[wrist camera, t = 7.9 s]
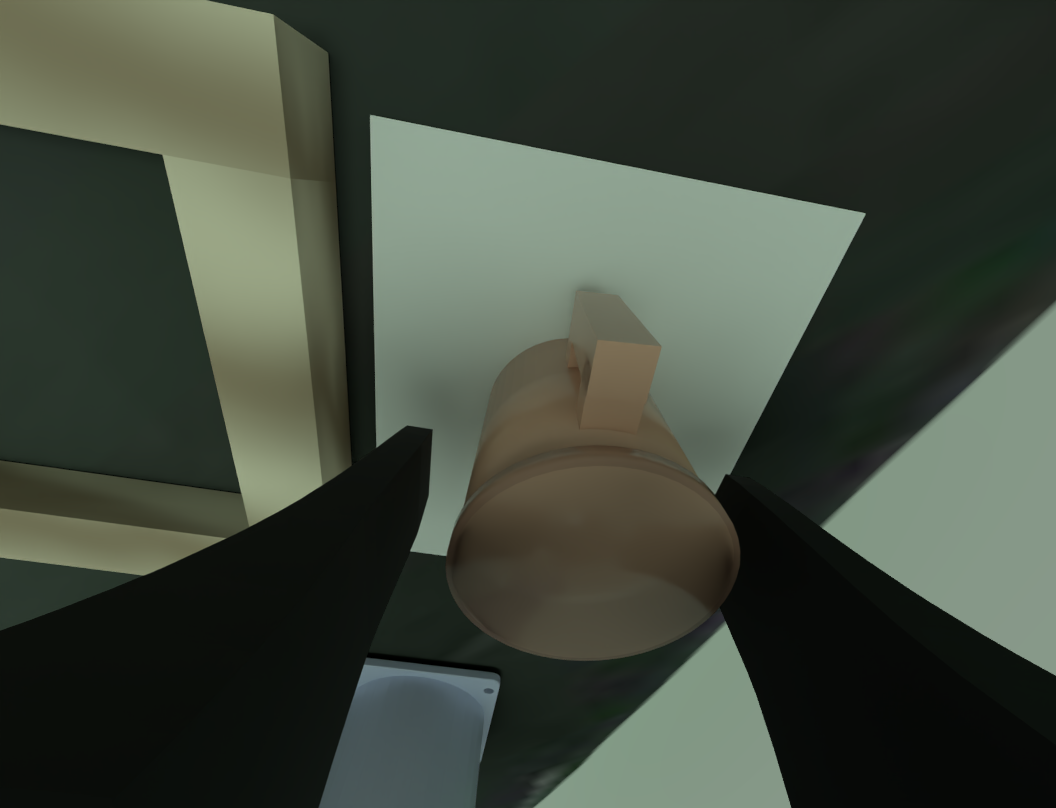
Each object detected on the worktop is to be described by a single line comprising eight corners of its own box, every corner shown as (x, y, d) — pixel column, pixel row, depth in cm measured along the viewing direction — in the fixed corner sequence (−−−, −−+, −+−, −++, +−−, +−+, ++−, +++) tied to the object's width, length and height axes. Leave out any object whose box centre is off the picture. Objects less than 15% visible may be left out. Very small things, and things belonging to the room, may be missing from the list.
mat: (669, 579, 16) (671, 586, 16) (381, 540, 16) (378, 547, 15) (857, 212, 10) (865, 213, 9) (374, 117, 9) (370, 114, 9)
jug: (480, 471, 13) (444, 650, 8) (492, 270, 10) (446, 347, 5) (629, 485, 14) (688, 669, 8) (685, 291, 10) (839, 388, 5)
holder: (356, 554, 16) (334, 599, 14) (-62, 499, 15) (-142, 539, 13) (328, 52, 8) (273, 14, 7) (-506, -120, 8) (-826, -218, 6)
